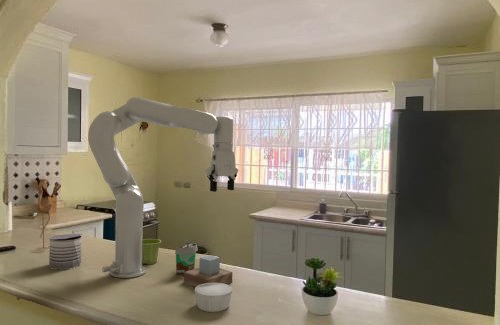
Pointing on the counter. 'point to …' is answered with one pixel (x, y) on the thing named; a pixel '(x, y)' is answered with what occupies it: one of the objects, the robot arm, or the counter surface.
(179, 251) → the food container
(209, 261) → the slate block
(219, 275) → the walnut block
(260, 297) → the counter surface
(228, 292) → the ramekin
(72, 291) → the counter surface
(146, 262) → the plant pot
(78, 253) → the can
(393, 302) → the counter surface
